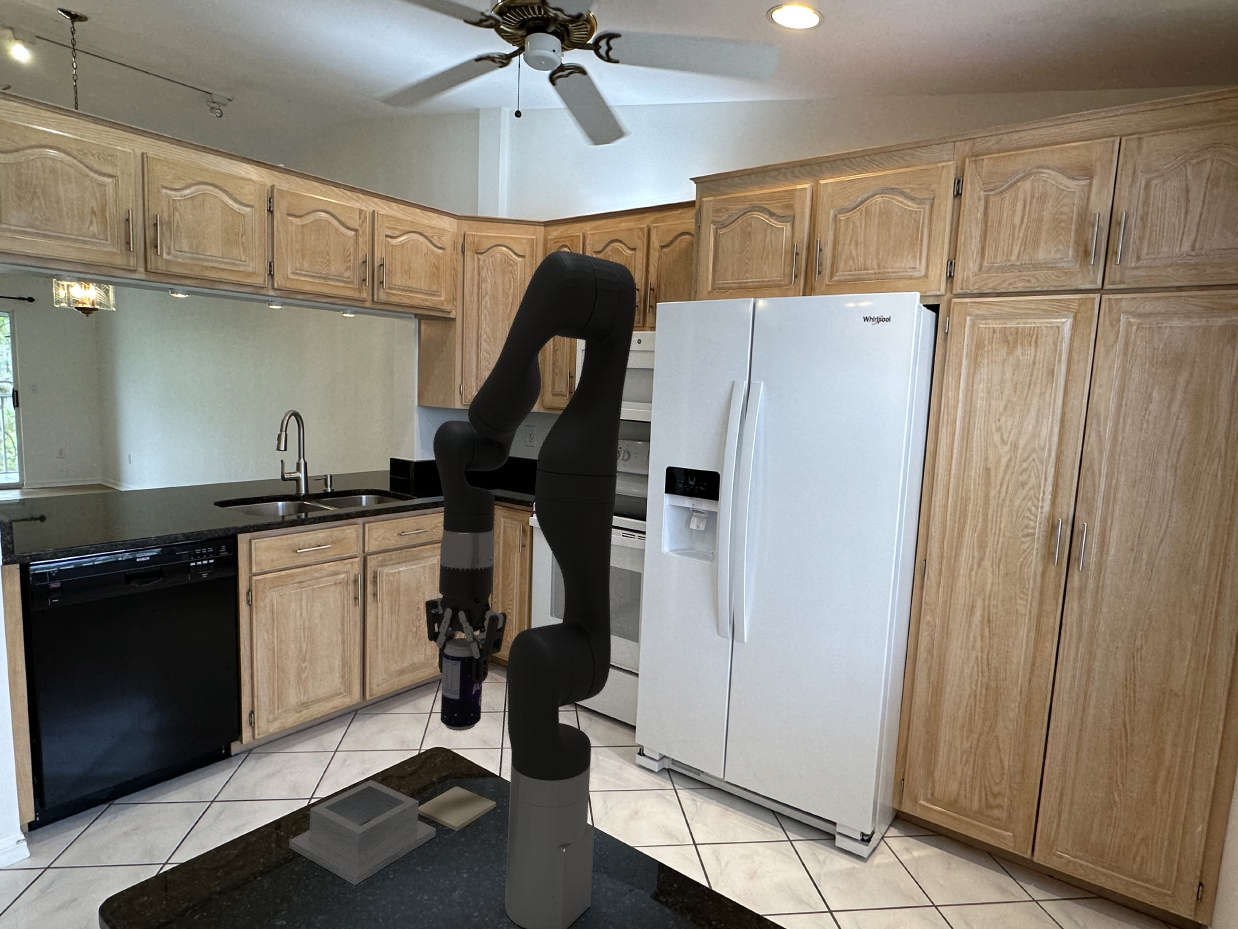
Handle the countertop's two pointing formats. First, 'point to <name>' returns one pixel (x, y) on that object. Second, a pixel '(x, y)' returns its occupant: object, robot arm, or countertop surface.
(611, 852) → the countertop surface
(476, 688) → the beverage can
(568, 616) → the robot arm
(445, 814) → the birch pad
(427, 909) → the countertop surface
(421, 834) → the sleeve
